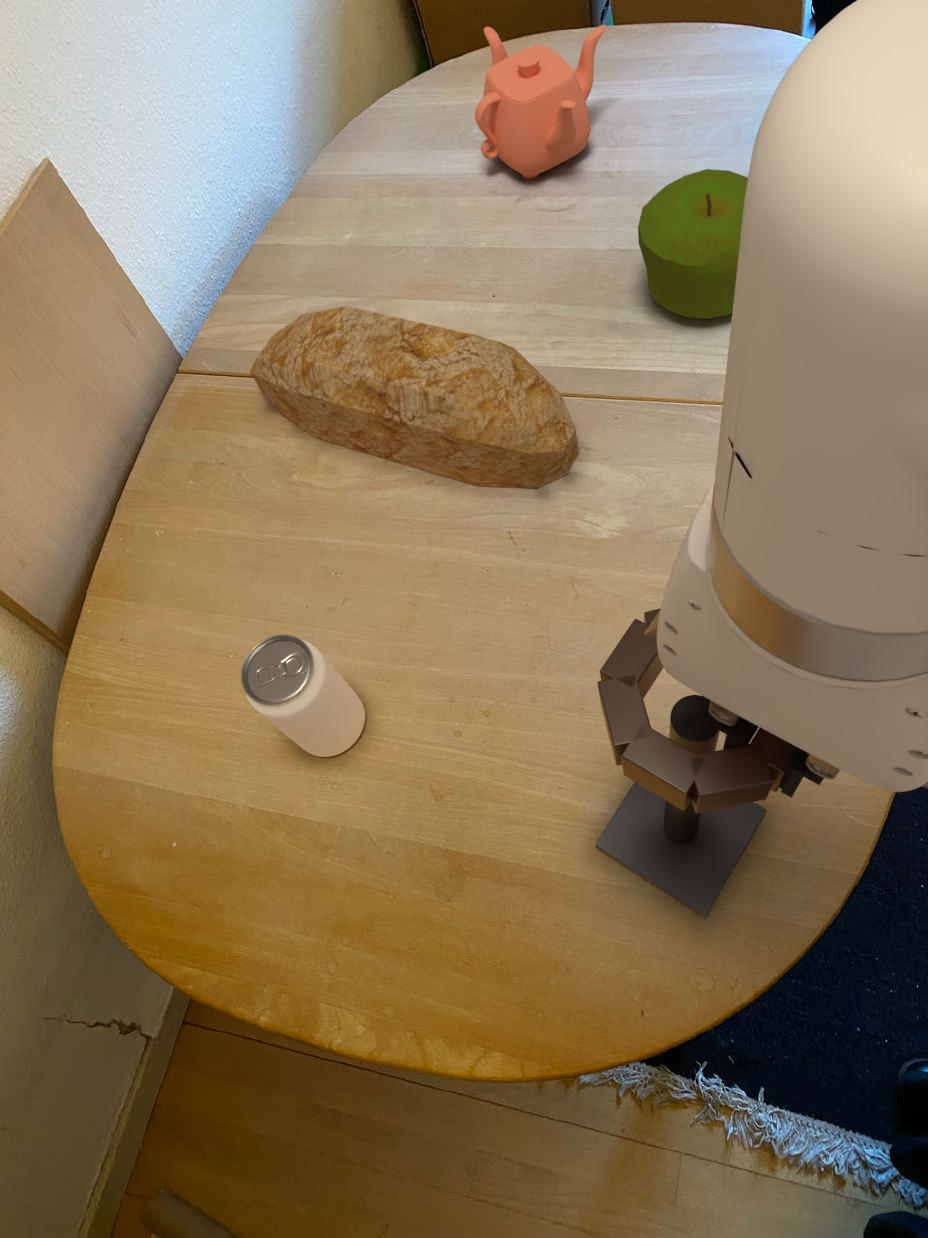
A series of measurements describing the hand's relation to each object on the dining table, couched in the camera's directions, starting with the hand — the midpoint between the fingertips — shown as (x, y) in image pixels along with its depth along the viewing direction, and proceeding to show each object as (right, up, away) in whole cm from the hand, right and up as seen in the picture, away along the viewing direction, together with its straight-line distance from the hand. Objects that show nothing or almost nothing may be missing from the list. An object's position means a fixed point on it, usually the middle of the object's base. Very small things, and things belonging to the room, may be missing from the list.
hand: (772, 749), depth 38 cm
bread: (-19, +26, +48) cm, 58 cm away
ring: (-3, +1, +2) cm, 4 cm away
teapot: (-4, +63, +63) cm, 89 cm away
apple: (+11, +39, +48) cm, 63 cm away
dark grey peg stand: (+2, -10, +25) cm, 27 cm away
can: (-25, -3, +34) cm, 43 cm away
